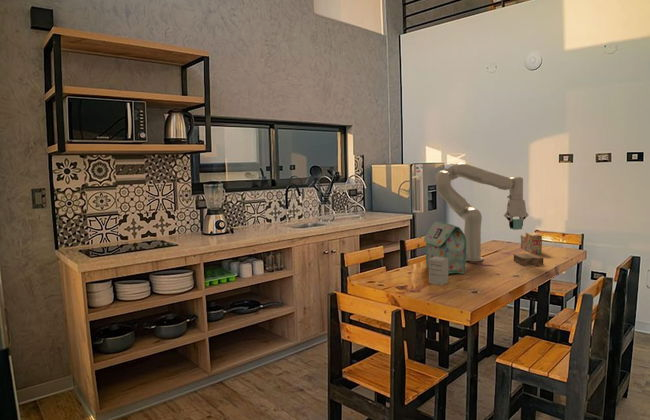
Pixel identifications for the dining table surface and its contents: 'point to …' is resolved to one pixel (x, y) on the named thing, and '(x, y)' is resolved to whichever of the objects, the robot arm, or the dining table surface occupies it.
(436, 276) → the supplement box
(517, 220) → the teal block
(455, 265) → the lunch bag
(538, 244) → the stack of blocks
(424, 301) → the dining table surface
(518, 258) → the walnut block
